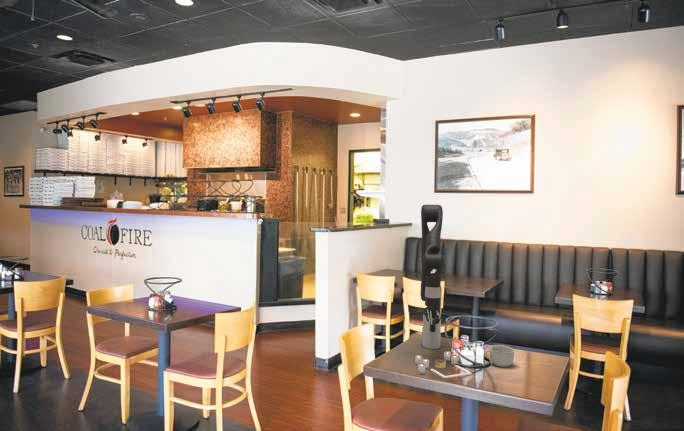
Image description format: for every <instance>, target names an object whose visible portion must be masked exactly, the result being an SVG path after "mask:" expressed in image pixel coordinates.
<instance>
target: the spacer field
mask: <svg viewBox="0 0 684 431" xmlns="http://www.w3.org/2000/svg"><path fill="white" fill-rule="evenodd" d="M414 357H415V359H414V360H415V361H414V364H415V365H416V366H418V368H417V372H418V373H417V374H418V375H421V374H422V375H423V374H424V375H426V370H429V369H430V359H429V358H423V355H421V354H416V355H415V356H414ZM443 360H444V361H446V362H450V363H451V365H452V366H455V365H456V364H457V361H458V356H455V355H453V354H452V352H451V351H448V350H446V351H443ZM422 375H421V376H422Z"/></svg>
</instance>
